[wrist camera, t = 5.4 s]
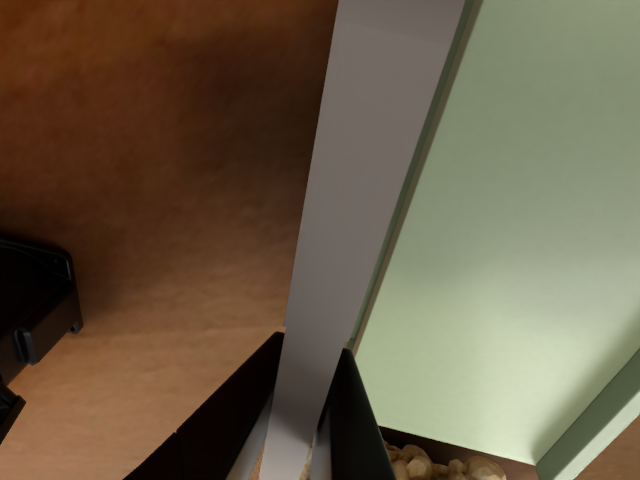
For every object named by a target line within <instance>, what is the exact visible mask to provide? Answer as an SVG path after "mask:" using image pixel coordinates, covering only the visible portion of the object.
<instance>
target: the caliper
mask: <svg viewBox="0 0 640 480" xmlns="http://www.w3.org/2000/svg"><path fill="white" fill-rule="evenodd" d="M464 3H465V0H339V3H338V9H337V14H336V20H335V26H334V31H333V37H332V43H331V49H330V55H329V61H328V67H327V73H326V78H325V84H324V90H323V96H322V102H321V108H320V114H319V120H318V125H317V131H316V137H315V143H314V149H313V155H312V161H311V167H310V172H309V178H308V184H307V190H306V196H305V202H304V208H303V214H302V220H301V225H300V231H299V237H298V243H297V249H296V255H295V261H294V267H293V272H292V278H291V284H290V290H289V296H288V302H287V308H286V314H285V319H284V325H283V326H284V327H286V330H285V335H284V341H283V346H282V352H281V358H280V363H279V369H278V374H277V380H276V385H275V391H274V397H273V402H272V408H271V413H270V419H269V424H268V431H267V436H266V441H265V447H264V452H263V458H262V463H261V469H260V475H259V480H299V479H300V476H301V473H302V470H303V467H304V464H305V461H306V458H307V455H308V452H309V449H310V446H311V443H312V439H313V436H314V433H315V430H316V427H317V424H318V421H319V418H320V415H321V412H322V409H323V406H324V403H325V400H326V397H327V394H328V391H329V388H330V385H331V382H332V379H333V376H334V373H335V370H336V367H337V364H338V361H339V358H340V355H341V352H342V349H343V346H344V343H345V342H348V343H349V340H350V337H351V334H352V331H353V328H354V325H355V322H356V319H357V316H358V313H359V311H360V308H361V305H362V302H363V299H364V296H365V293H366V290H367V287H368V284H369V282H370V279H371V276H372V273H373V270H374V267H375V264H376V261H377V258H378V255H379V253H380V250H381V247H382V244H383V241H384V238H385V235H386V232H387V229H388V226H389V223H390V221H391V218H392V215H393V212H394V209H395V206H396V203H397V200H398V197H399V194H400V192H401V189H402V186H403V183H404V180H405V177H406V174H407V171H408V168H409V165H410V162H411V160H412V157H413V154H414V151H415V148H416V145H417V142H418V139H419V136H420V133H421V131H422V128H423V125H424V122H425V119H426V116H427V113H428V110H429V107H430V104H431V102H432V99H433V96H434V93H435V90H436V87H437V84H438V81H439V78H440V75H441V72H442V70H443V67H444V64H445V61H446V58H447V55H448V52H449V49H450V46H451V43H452V40H453V37H454V34H455V31H456V28H457V25H458V22H459V19H460V16H461V13H462V10H463V6H464Z"/></svg>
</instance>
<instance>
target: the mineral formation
mask: <svg viewBox="0 0 640 480" xmlns="http://www.w3.org/2000/svg"><path fill="white" fill-rule="evenodd" d="M383 441H384V444H385V447H386V450H387V453H388V456H389V459H390V462H391V464H392V467H393V470H394V473H395V476H396V479H397V480H506V476H505V474H504V472H503V470H502V468H501V467H500V466H499V465H498V464H497V463H496V462H494V461H492V460H490V459H488V458H485V457H483V456H481V455H479V456H473V457H470V458H469V459H468V460H466V461H465V462H463V463H461V462H460V461H459V460H458V459H455V460H452V461H449V467H448V466H444V465H441V464H434V463H433V462H432V461H431V459H430V458H429V457H428V455H427V454H426V453H425V451H424V450H422V449H421V448H420V447H418V446H416V445H406V446H405V447H404V448H403V449H402V450H400V449H399V448H397V447H396V446H391V445H389V443H388V442H386V441H385V440H383ZM312 447H313V446H312ZM312 447H311V448H310V449H309V452H308V455H307V458H306V461H305V464H304V467H303V470H302V473H301V476H300V479H299V480H310V470H311V458H312Z"/></svg>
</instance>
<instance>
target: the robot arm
mask: <svg viewBox="0 0 640 480" xmlns="http://www.w3.org/2000/svg"><path fill="white" fill-rule="evenodd" d="M82 328H83V325H82V318H81V312H80V306H79V300H78V293H77V287H76V281H75V274H74V268H73V262H72V258H71V256H70V255H69V254H68V253H67V252H65V251H62V250H58V249H54V248H50V247H46V246H42V245H38V244H34V243H30V242H27V241H23V240H19V239H15V238H11V237H7V236H3V235H0V445H1V443H2V441H3V440H4V438H5V437H6V435H7V433H8V432H9V430H10V428H11V427H12V425H13V423H14V422H15V420H16V419H17V417H18V415H19V414H20V412H21V410H22V409H23V407H24V405H25V404H26V401H25V400H24V399H23V398H22V397H21V396H20V395H16V394H14V393H13V392H12V391H11V390H10V389H9V388H8V387H7V386H8V385H9V384H10V383H11V382H12V381H13V379H14V378H15V377H16V376H17V375H18V374H19V373H20V372H21V371H22V370H23V369H24V368H25V367H26V366H27V365H35V364H37V363H38V362H39V361H40V360H41V359H42V358H43V357H44V356H45V355H46V354H47V353H48V352H49V351H50V350H51V349H52V347H53V346H54V345H55V344H56V343H57V342H58V341H59V340H60V339H61V338H62V337H63V336H64V335H65V334H66V332H68V333H72V334H77V333H78V332H79V331H80V330H81V329H82ZM284 335H285V333H283V332H278V331H277V332H275V333H274V334H273V335H272V336H271V337H270V338H269V339H268V340H267V341H266V342H265V343H264V344H262V345H261V346H260V347H259V348H258V349H257V350H256V351H255V352H254V353H253V354H252V355H251V356H250V357H249V358H248V359H247V360H246V361H245V362H244V363H243V364H242V365H241V366H240V367H239V368H238V369H237V370H236V371H235V372H234V373H233V374H232V375H231V376H230V377H229V378H228V379H227V380H226V381H225V382H224V383H223V384H222V385H221V386H220V387H219V388H218V389H217V390H216V391H215V392H214V393H213V394H212V395H211V396H210V397H209V398H208V399H207V400H206V401H205V402H204V403H203V404H202V405H201V406H200V407H199V408H198V409H197V410H196V411H195V412H194V413H193V414H192V415H191V416H190V417H189V418H188V419H187V420H186V421H185V422H184V423H183V424H182V425H181V426H180V427H179V428H178V429H177V430H176V433H175V432H174V433H173V434H172V435H171V436H170V437H169V438H168V439H167V440H166V441H165V442H164V443H163V444H162V445H161V446H159V447H158V448H157V449H156V450H155V451H154V452H153V453H152V454H151V455H150V456H149V457H148V458H147V459H146V460H145V461H143V462H142V463H141V464H140V465H139V466H138V467H137V468H136V469H134V470H133V471H132V472H131V473H130V474H129V475H127V476H126V477H125V478H124V479H123V480H249V479H250V476H251V474H252V471H253V469H254V466H255V464H256V461H257V459H258V456H259V454H260V451H261V449H262V446H263V444H264V441H265V439H266V436H267V431H268V424H269V419H270V413H271V408H272V402H273V397H274V391H275V385H276V380H277V374H278V369H279V363H280V358H281V352H282V346H283V341H284ZM310 480H397V479H396V476H395V473H394V470H393V467H392V464H391V462H390V459H389V456H388V453H387V450H386V447H385V444H384V441H383V439H382V436H381V433H380V430H379V427H378V424H377V421H376V418H375V416H374V413H373V410H372V407H371V404H370V401H369V398H368V395H367V393H366V390H365V387H364V384H363V381H362V378H361V375H360V372H359V370H358V367H357V364H356V361H355V358H354V355H353V353H352V351H351V350H350V349H347V348H343V349H342V352H341V355H340V358H339V361H338V364H337V367H336V370H335V373H334V376H333V379H332V382H331V385H330V388H329V391H328V394H327V397H326V400H325V403H324V406H323V409H322V412H321V415H320V418H319V421H318V424H317V427H316V430H315V433H314V438H313V447H312V458H311V470H310Z"/></svg>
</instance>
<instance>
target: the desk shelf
mask: <svg viewBox="0 0 640 480" xmlns="http://www.w3.org/2000/svg"><path fill="white" fill-rule="evenodd" d="M344 348H347V349H350V350H351V351H352V353H353V355H354V358H355V361H356V364H357V367H358V370H359V372H360V375H361V378H362V381H363V384H364V387H365V390H366V393H367V395H368V398H369V401H370V404H371V407H372V410H373V413H374V416H375V418H376V421H377V424H378V425H380V426H384V427H388V428H391V429H395V430H399V431H403V432H407V433H411V434H415V435H419V436H423V437H426V438H430V439H434V440H438V441H442V442H446V443H450V444H454V445H458V446H461V447H465V448H469V449H473V450H477V451H481V452H485V453H489V454H493V455H496V456H500V457H504V458H508V459H512V460H516V461H520V462H524V463H527V464H531V465H535V468H536V471H537V474H538V478H539V480H573V479H574V478H575V477H576V476H577V475H578V474H579V473H580V472H581V471H582V470H583V469H584V468H585V467H586V466H587V465H588V464H589V463H590V462H591V461H592V460H593V459H594V458H595V457H596V456H597V455H598V454H599V453H600V452H602V451H603V450H604V449H605V448H606V447H607V446H608V445H609V444H610V443H611V442H612V441H613V440H614V439H615V438H616V437H617V436H618V435H619V434H620V433H621V432H622V431H623V430H624V429H625V428H626V427H627V426H628V425H629V424H630V423H631V422H632V421H633V420H634V419H635V418H636V417H637V416H638V415H639V414H640V0H465V3H464V6H463V10H462V13H461V16H460V19H459V22H458V25H457V28H456V31H455V34H454V37H453V40H452V43H451V46H450V49H449V52H448V55H447V58H446V61H445V64H444V67H443V70H442V72H441V75H440V78H439V81H438V84H437V87H436V90H435V93H434V96H433V99H432V102H431V104H430V107H429V110H428V113H427V116H426V119H425V122H424V125H423V128H422V131H421V133H420V136H419V139H418V142H417V145H416V148H415V151H414V154H413V157H412V160H411V162H410V165H409V168H408V171H407V174H406V177H405V180H404V183H403V186H402V189H401V192H400V194H399V197H398V200H397V203H396V206H395V209H394V212H393V215H392V218H391V221H390V223H389V226H388V229H387V232H386V235H385V238H384V241H383V244H382V247H381V250H380V253H379V255H378V258H377V261H376V264H375V267H374V270H373V273H372V276H371V279H370V282H369V284H368V287H367V290H366V293H365V296H364V299H363V302H362V305H361V308H360V311H359V313H358V316H357V319H356V322H355V325H354V328H353V331H352V334H351V337H350V340H349V343H348V342H345V343H344Z"/></svg>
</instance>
